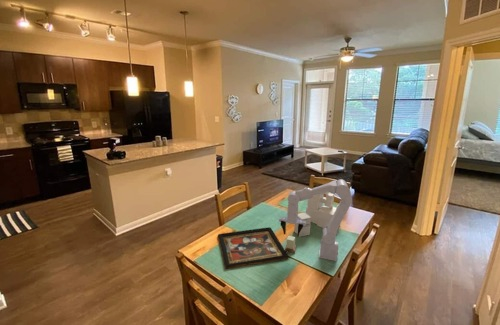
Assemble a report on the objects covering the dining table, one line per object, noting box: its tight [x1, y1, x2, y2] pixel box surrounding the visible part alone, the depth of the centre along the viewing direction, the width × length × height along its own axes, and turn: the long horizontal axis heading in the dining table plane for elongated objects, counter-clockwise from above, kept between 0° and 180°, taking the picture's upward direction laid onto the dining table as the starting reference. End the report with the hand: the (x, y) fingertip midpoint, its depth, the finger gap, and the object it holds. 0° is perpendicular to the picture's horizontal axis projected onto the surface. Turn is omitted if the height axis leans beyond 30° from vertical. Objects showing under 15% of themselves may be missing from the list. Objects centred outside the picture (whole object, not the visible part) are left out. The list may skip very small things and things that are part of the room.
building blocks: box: [305, 186, 339, 229], centre depth 168 cm, size 21×12×25 cm, turn 49°
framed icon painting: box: [217, 227, 290, 270], centre depth 144 cm, size 38×35×3 cm
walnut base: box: [284, 244, 297, 254], centre depth 141 cm, size 6×6×2 cm
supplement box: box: [293, 212, 312, 238], centre depth 157 cm, size 7×7×13 cm
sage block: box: [285, 235, 296, 249], centre depth 140 cm, size 4×4×6 cm
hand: (291, 234), depth 139 cm, fingers open, 7 cm apart
